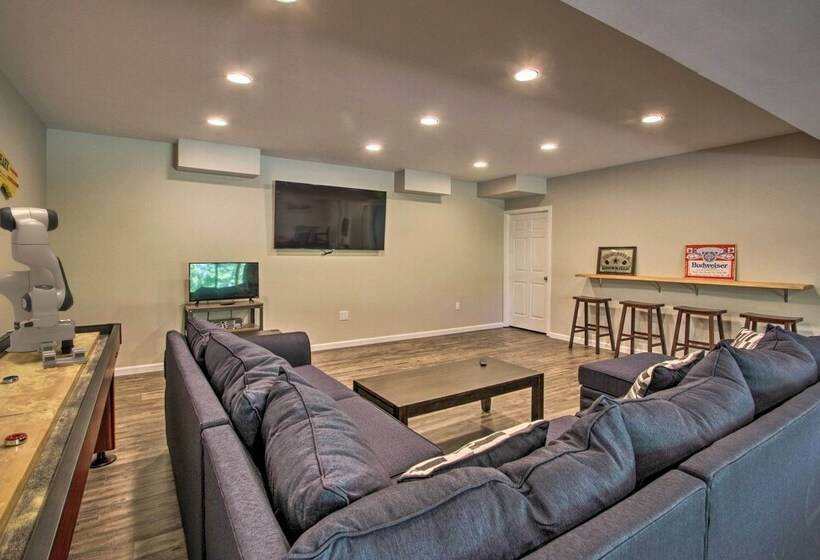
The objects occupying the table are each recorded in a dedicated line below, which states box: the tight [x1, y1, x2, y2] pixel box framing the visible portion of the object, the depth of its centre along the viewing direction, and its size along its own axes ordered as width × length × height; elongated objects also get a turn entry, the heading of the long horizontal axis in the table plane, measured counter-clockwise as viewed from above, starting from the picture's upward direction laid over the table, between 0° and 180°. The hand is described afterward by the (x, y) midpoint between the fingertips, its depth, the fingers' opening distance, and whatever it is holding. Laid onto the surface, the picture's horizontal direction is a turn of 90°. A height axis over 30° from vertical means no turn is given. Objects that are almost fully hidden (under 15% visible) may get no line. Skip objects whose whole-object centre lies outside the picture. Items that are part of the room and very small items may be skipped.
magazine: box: [59, 339, 75, 355], centre depth 208 cm, size 4×13×15 cm, turn 31°
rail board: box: [41, 346, 87, 370], centre depth 187 cm, size 12×14×6 cm
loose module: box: [41, 341, 54, 363], centre depth 193 cm, size 6×4×8 cm, turn 42°
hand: (47, 351), depth 193 cm, fingers closed on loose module, 4 cm apart
